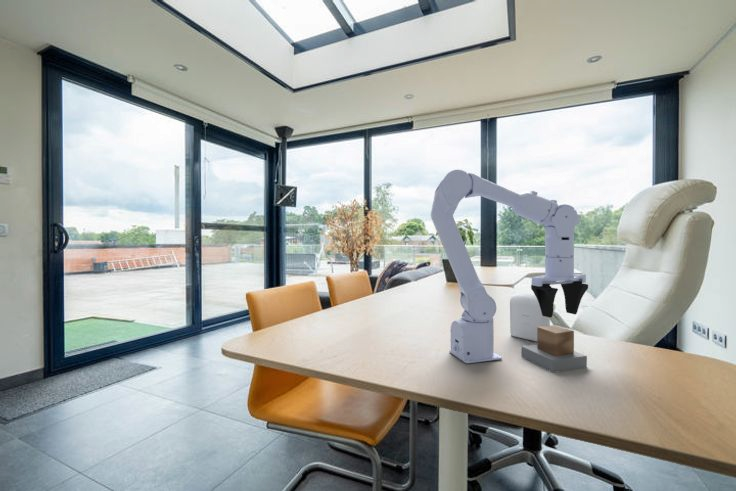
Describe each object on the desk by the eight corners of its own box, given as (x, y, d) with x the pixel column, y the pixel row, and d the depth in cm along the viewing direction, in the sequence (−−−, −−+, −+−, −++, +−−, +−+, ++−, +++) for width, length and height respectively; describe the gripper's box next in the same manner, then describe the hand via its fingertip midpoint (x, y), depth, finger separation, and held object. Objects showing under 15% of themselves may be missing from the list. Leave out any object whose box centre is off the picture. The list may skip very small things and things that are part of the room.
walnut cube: (555, 356, 68) (555, 333, 68) (537, 348, 73) (537, 326, 72) (573, 353, 69) (573, 331, 69) (554, 346, 74) (554, 325, 74)
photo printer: (507, 336, 90) (507, 293, 90) (514, 333, 93) (514, 291, 92) (546, 345, 82) (546, 298, 82) (552, 341, 85) (552, 295, 84)
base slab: (552, 374, 66) (552, 360, 65) (521, 358, 74) (521, 346, 74) (586, 369, 68) (586, 355, 68) (552, 354, 76) (552, 342, 76)
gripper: (550, 259, 67) (550, 322, 67) (598, 256, 72) (598, 315, 72) (524, 257, 74) (524, 314, 74) (570, 255, 78) (570, 309, 79)
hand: (559, 314), depth 73 cm, fingers open, 7 cm apart
